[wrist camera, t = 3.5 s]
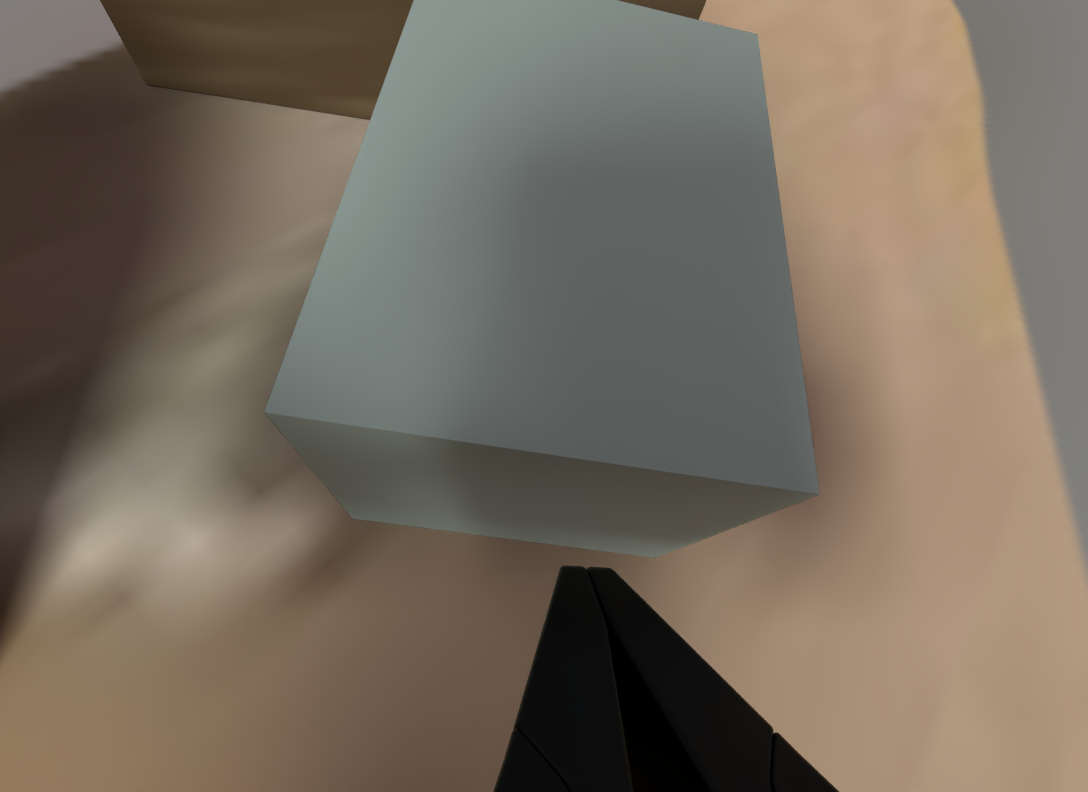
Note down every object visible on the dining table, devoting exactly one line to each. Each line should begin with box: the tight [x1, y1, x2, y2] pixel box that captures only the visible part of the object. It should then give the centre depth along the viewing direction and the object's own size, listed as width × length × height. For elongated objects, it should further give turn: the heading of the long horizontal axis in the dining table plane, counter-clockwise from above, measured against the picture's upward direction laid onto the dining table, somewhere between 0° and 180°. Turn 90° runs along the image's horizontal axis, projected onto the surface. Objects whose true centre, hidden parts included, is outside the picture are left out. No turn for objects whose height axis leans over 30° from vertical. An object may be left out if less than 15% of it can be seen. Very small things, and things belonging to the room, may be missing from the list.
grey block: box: [264, 0, 820, 558], centre depth 15 cm, size 13×9×8 cm
